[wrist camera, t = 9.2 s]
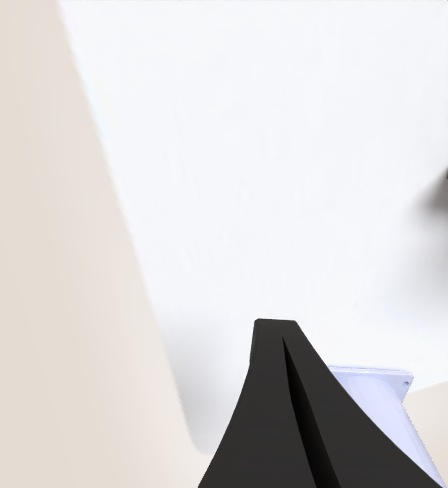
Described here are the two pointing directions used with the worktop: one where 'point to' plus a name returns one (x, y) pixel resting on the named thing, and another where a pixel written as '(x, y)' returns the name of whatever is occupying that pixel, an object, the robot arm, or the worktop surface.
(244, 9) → the worktop surface
